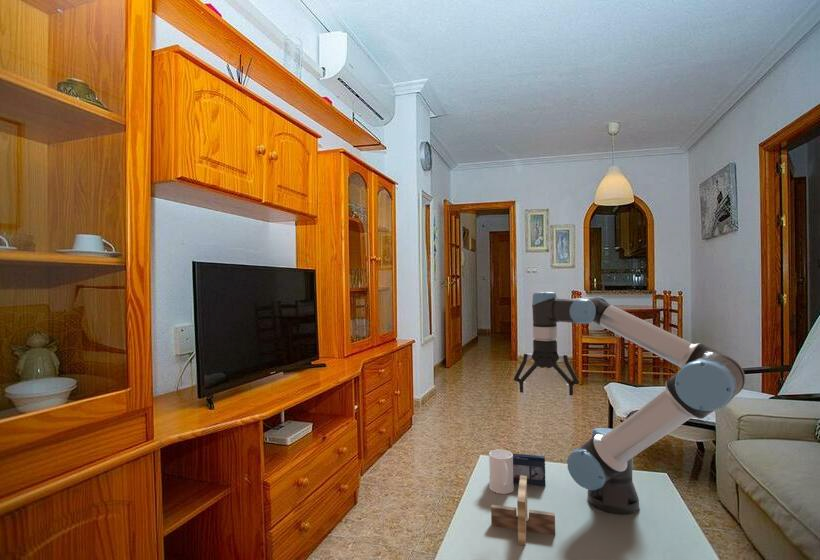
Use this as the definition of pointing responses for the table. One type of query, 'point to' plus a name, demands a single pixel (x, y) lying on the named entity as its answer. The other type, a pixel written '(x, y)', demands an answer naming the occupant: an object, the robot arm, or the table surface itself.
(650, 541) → the table surface
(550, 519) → the standing plate
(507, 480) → the mug
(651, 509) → the table surface
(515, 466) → the vhs cassette tape
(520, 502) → the cross plate
